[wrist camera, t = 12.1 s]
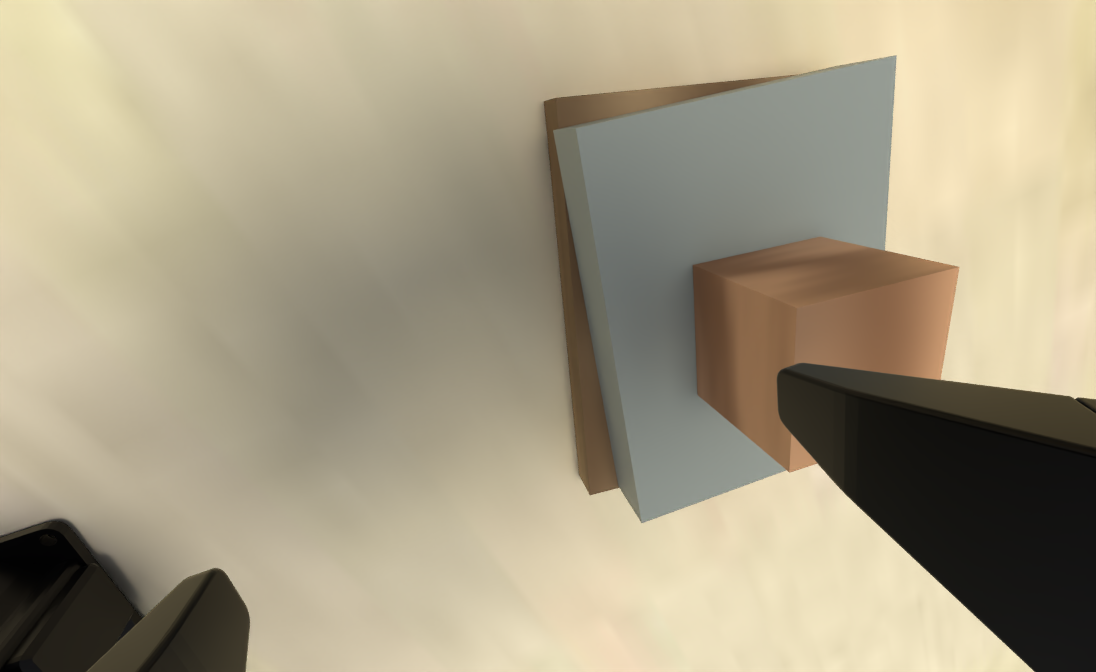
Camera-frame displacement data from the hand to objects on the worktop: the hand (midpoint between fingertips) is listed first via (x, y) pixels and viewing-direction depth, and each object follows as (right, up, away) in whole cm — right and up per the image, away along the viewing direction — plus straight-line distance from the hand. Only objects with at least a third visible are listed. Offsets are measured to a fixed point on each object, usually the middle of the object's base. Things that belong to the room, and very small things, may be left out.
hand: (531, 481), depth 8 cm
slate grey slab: (+7, +4, +13) cm, 15 cm away
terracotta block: (+8, +3, +11) cm, 14 cm away
